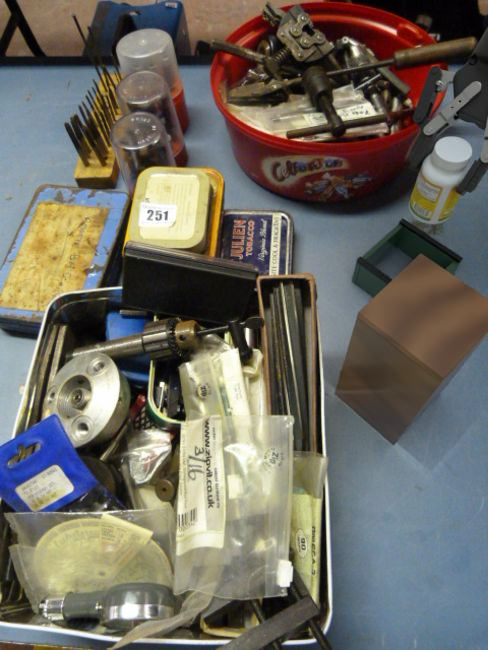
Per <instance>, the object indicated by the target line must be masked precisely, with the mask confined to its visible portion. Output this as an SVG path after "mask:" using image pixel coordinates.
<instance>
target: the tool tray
mask: <svg viewBox="0 0 488 650" xmlns="http://www.w3.org/2000/svg"><path fill="white" fill-rule="evenodd" d="M396 248H397V249H398V250H400V251H401V252H403V253H404V254H406V255H407V256H408V257H410V258H411V259H412V260H414V259H415V258H416V257H417V256H418V255H419V254H423V255H424V256H426V257H427V258H429V259H430V260H432V261H433V262H435V263H436V264H437V265H439V266H440V267H442V268H443V269H445V270H446V271H448V272H449V273H451V274H452V275H454V276H455V274H456V272H457V270H458V268H459V267H460V265H461V263H462V261H463V260H464V257H462V256H461V255H459V254H458V253H456V252H455V251H454V250H452V249H450V248H449V247H447V246H446V245H444V244H443V243H441V242H440V241H439V240H437V239H436V238H434V237H432V236H431V235H429V234H428V233H426V232H425V231H423V230H421V229H420V228H418V227H417V226H416V225H414V224H413V223H411V222H410V221H408V220H406V219H405V218H404V217H402V218H401V219H399V222H398V224H397V225H395V227H393V228H392V229H391V230H390V231H389V232H388V233H387V234H385V235H384V236H383V237H381V239H379V241H377V242H376V243H375V244H374V245H372V247H371V248H370V249H369V250H367V252H365V253H364V254H363V255H362V256H359V257H358V258H356V262H355V265H354V270H353V273H352V277H351V282H352V283H354V284H355V285H356V286H358V287H359V288H361V289H362V290H363V291H364V292H366V293H367V294H368V295H370V296H371V297H372V298H374V297H375V296H376V295H377V294H378V293H379V292H380V291H381V290H382V289H383V288H384V287H386V286H387V285H388V284H389V283H390V282H391V281H392V280H393V279H394V278H391V277H390V276H389V275H387V274H386V273H385V272H383V271H382V270H380V269H379V268H377V267H376V266H377V265H378V263H380V262H382V260H383V259H385V257H387V256H388V255H389V254H390V253H391V252H392V251H393V250H394V249H396Z"/></svg>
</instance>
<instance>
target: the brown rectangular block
mask: <svg viewBox="0 0 488 650" xmlns="http://www.w3.org/2000/svg"><path fill="white" fill-rule="evenodd" d="M392 279H393V280H392V281H391V282H390V283H389V284H388V285H387V286H386V287H384V288H383V289H382V290H381V291H380V292H379V293H378V294H377V295H376V296H375V297H372V299H370V301H368V303H366V304H365V305H364V306H363V307H362V308H361V309H360V310H359V311H358V313H357V316H356V319H355V323H354V326H353V329H352V332H351V337H350V339H349V343H348V346H347V350H346V353H345V357H344V359H343V364H342V366H341V370H340V373H339V377H338V380H337V384H336V387H335V391H334V395H335V396H336V397H337V398H338V399H339V400H340V401H342V402H343V403H344V404H345V405H346V406H347V407H348V408H349V409H351V410H352V411H353V412H354V413H355V414H357V416H359V417H360V418H361V419H362V420H363V421H364V422H366V423H367V424H368V425H369V426H370V427H371V428H372V429H374V431H376V432H377V433H378V434H379V435H380V436H381V437H382V438H383V439H385V440H386V441H387V442H388V443H389V444H391V446H395V445H397V442H398V441H399V440H400V439H401V438H402V437H403V436H404V435H405V434H406V433H407V431H409V429H410V428H411V427H412V426H413V425H414V424H415V423H416V422H417V421H418V419H420V417H421V416H422V415H423V414H424V413H425V412H426V410H428V409H429V408H430V407H431V405H432V404H433V403H434V402H435V401H436V400H437V398H438V397H439V396H440V395H441V394H442V393H443V391H444V390H445V389H446V388H447V387H448V385H449V384H450V383H451V381H452V380H453V379H454V378H455V376H456V375H457V374H458V373H459V371H460V370H461V369H462V367H463V366H464V365H465V364H466V363H467V361H468V360H469V358H471V356H472V355H473V354H474V352H475V351H476V350H477V349H478V347H479V346H480V345H481V344H482V342H483V341H484V340H485V339H486V337H487V336H488V298H487V297H486V296H485V295H483V294H482V293H481V292H479V291H478V290H476V289H475V288H473V287H472V286H470V285H468V284H467V283H465V282H464V281H463V280H461V279H460V278H459V277H457V276H455V274H454V275H452V274H451V273H449V272H448V271H446V270H445V269H443V268H442V267H440V266H439V265H437V264H436V263H435V262H433V261H432V260H430V259H429V258H427V257H426V256H424V255H423V254H419V255H418V256H417V257H416V258H415V259H412V261H411V262H410V263H408V264H407V266H406V267H405V268H403V269H402V270H401V271H399V273H398V274H397V275H396V276H395V277H393V278H392Z"/></svg>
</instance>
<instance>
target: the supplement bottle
mask: <svg viewBox="0 0 488 650" xmlns="http://www.w3.org/2000/svg"><path fill="white" fill-rule="evenodd" d="M432 149H433V150H432V152H431V153H429V154H428V156H427V157H426V158H425V159H424V161H423V163H422V165H421V167H420V169H419V171H418V175H417V178H416V180H415V184H414V187H413V190H412V193H411V196H410V198H409V202H408V209H409V213H410V215H411V216H412V217H414V218H415V220H417V221H419V222H421V223H423V224H426V225H438V224H442V223H444V222H446V221H448V219H450V218H451V217H452V214H453V212H454V210H455V209H456V206H457V205H458V204H457V203H458V202H459V199H460V197H461V195H460V194H458V193H456V190H457V188H458V187H459V185H460V183H461V182H462V180H463V179H464V177H465V176H466V174H467V172H468V171H469V169H470V168H471V165H470V161H471V158H472V155H473V147H472V146H471V143H470V142H469V141H467V140H465V139H464V138H462V137H460V136H454V135H453V136H452V135H451V136H450V135H449V136H444V137H442V138H440V139H439V140H437V141H436V142H435V144H434V146H433V148H432Z"/></svg>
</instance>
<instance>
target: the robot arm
mask: <svg viewBox="0 0 488 650" xmlns="http://www.w3.org/2000/svg"><path fill="white" fill-rule="evenodd" d="M428 70H429V71H428V73H427V76H426V79H425V81H424V84H423V87H422V89H421V92H420V95H419V98H418V101H417V104H416V106H415V109H414V112H413V115H412V121H413V123H415V124H416V126H417V127H418V128H419V129H420V132H421V134H420V136H419V138H418V140H417V141H416V143H415V145H414V146H413V148H412V150H411V152H410V153H409V155H408V160H407V161H408V163H409V165H408V169H410V170H412V171H414V172H416V173H417V172H418V173H419V171H420V168H421V165H422V163H423V161H424V159H425V158H426V157H427V156H428V155H429V154H430V152H431V151H432V149H433V148H434V147H435V144H436V141H435V139H437V138H438V137H439V136H440V135H442V133H444V132H445V131H446V130H447V129H448V128H450V127H452V126H454V125H455V124H456V123H457V122H459V120H461V121H463V122H466V123H469V124H474V125H475V126H476V127H477V128H479V129H481V130H483V131H484V133H483V142H482V147H481V152H480V156H479V158H478V159H477V160H476V159H474V161H473V163H472V164H471V165H470V169H469V171H468V172H467V174H466V176H465V177H464V179H463V180H462V182H461V183H460V185H459V187H458V188H457V190H456V193H458V194H460V196H462V197H464V196H465V195H466V193H469V194H471V193H473V192H474V191H475V190H476V189H477V187H478V185H479V184H480V182H481V181H482V179H483V178H484V176H485V175H486V173H487V172H488V26H487V28H486V29H485V31H484V33H483V34H482V35H481V38H480V39H479V41H478V43H477V45H476V46H475V48H474V49H473V51H472V53H471V54H470V56H469V59H468V60H467V62H466V63H465V64H464V65H463V66H461V67H460V68H459V69H458V70H457V71H451V70H445V69H441V67H440V66H438V65H433V66H431V67H430V68H429V69H428ZM451 84H452V89H453V90H452V91H453V92H452V93H453V99H452V100H451V101H450V102H449V103H448V104H447V105H446V106H444V107H443V108H442V109H441V110H440V111H439V113H438V114H437V115H436V116H435V117H433V119H431V120H430V118H431V116H432V112H433V110H434V107H435V104H436V101H437V98H438V96H439V94H441V93H443V92H445V91H446V90H447V87H448V86H449V85H451Z"/></svg>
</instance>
